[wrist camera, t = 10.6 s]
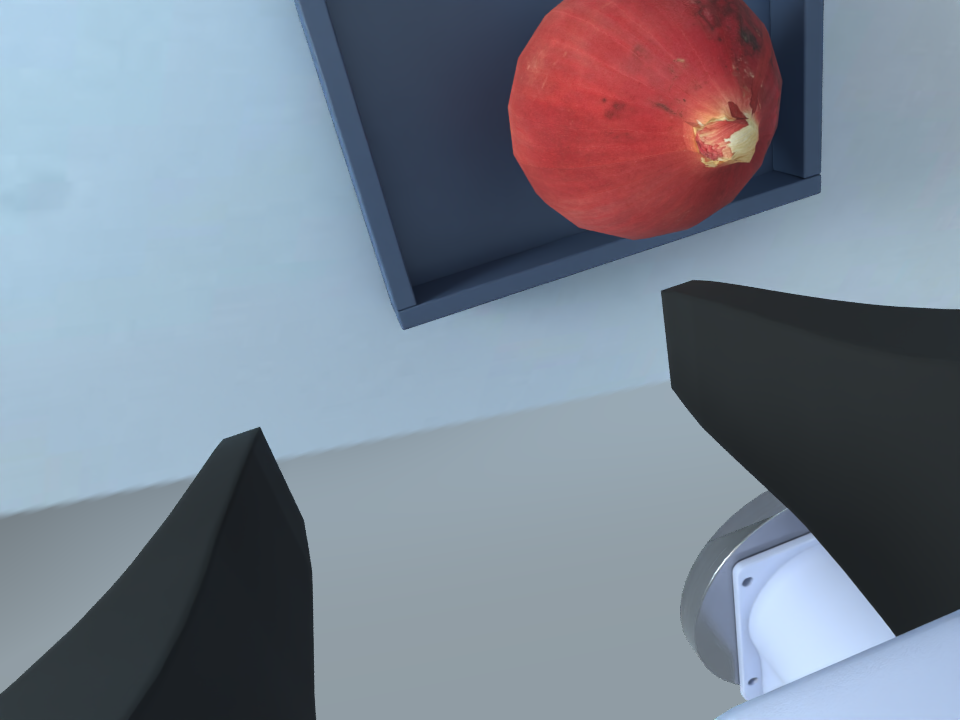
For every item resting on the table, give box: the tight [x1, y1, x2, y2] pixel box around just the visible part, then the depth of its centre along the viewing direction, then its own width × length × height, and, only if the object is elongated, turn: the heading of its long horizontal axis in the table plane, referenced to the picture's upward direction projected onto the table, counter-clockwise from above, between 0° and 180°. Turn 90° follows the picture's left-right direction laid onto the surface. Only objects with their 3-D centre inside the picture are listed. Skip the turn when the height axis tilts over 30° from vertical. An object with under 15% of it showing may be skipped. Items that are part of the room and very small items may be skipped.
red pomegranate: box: [508, 0, 782, 240], centre depth 15 cm, size 6×6×8 cm
